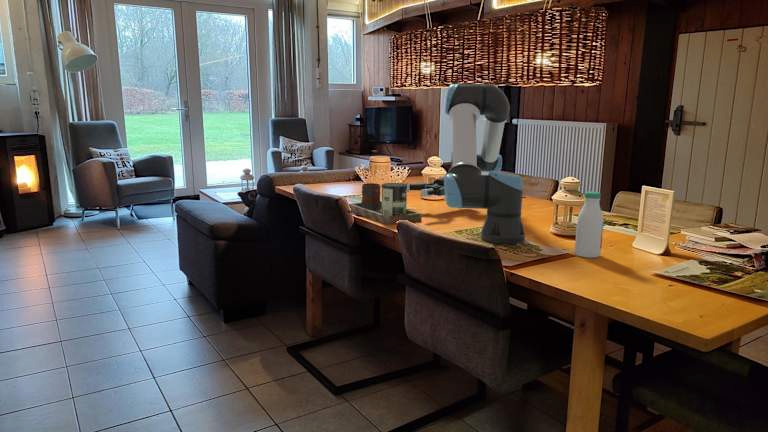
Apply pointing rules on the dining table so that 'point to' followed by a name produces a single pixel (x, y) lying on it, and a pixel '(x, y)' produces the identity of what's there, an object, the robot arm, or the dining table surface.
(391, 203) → the coffee can
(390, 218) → the caddy
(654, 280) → the dining table surface
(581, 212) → the milk bottle
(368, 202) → the mug
